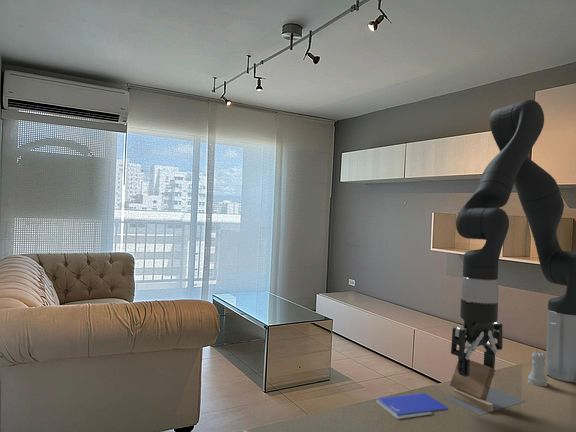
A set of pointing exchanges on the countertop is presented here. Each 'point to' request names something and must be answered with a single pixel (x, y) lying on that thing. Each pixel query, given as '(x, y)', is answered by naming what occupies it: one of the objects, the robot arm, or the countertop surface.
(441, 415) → the countertop surface
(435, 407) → the hard drive
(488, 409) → the beech rail
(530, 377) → the rook chess piece
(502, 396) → the charcoal mat
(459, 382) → the walnut board
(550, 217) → the robot arm
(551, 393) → the countertop surface
